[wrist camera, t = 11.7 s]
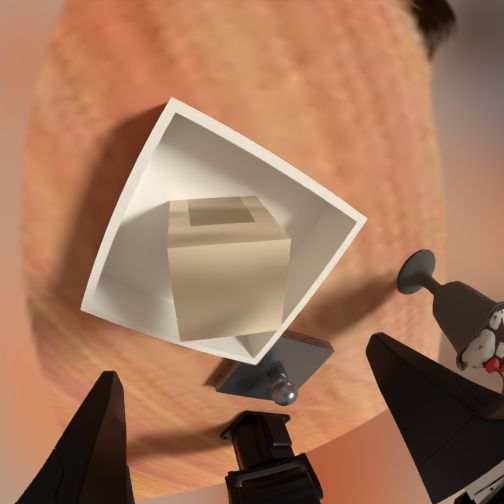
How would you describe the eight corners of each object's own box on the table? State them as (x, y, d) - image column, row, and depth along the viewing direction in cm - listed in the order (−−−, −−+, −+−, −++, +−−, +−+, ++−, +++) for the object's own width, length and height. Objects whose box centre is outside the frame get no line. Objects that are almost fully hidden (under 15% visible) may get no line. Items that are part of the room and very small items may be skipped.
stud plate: (281, 393, 29) (295, 428, 25) (214, 381, 25) (223, 423, 21) (329, 342, 26) (351, 378, 22) (260, 321, 23) (278, 365, 19)
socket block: (252, 268, 20) (280, 329, 14) (176, 275, 18) (180, 341, 13) (255, 195, 17) (291, 239, 12) (170, 200, 16) (167, 248, 11)
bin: (243, 327, 23) (256, 365, 19) (94, 272, 18) (80, 309, 14) (335, 196, 19) (367, 218, 16) (173, 100, 14) (171, 97, 11)
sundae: (378, 292, 25) (482, 416, 12) (419, 230, 23) (548, 335, 10) (412, 307, 27) (499, 406, 15) (448, 254, 25) (550, 343, 12)
